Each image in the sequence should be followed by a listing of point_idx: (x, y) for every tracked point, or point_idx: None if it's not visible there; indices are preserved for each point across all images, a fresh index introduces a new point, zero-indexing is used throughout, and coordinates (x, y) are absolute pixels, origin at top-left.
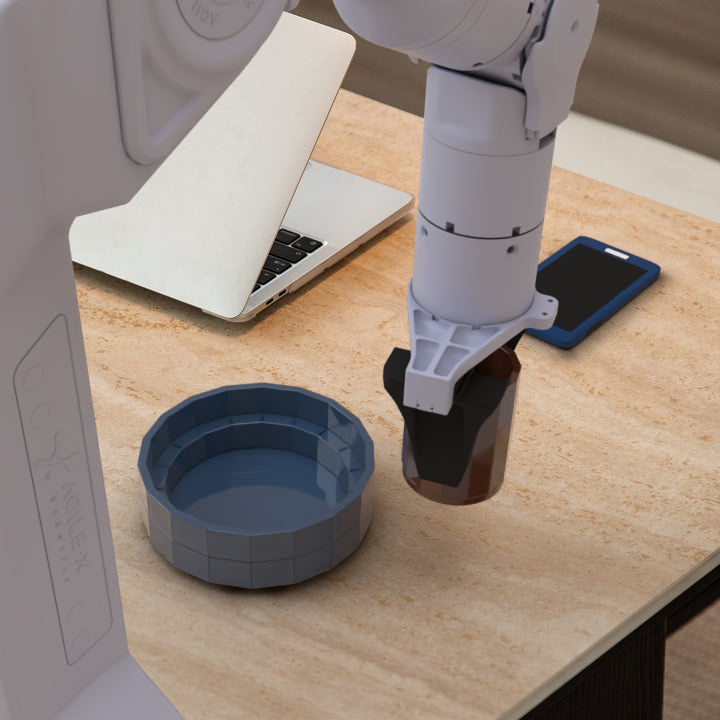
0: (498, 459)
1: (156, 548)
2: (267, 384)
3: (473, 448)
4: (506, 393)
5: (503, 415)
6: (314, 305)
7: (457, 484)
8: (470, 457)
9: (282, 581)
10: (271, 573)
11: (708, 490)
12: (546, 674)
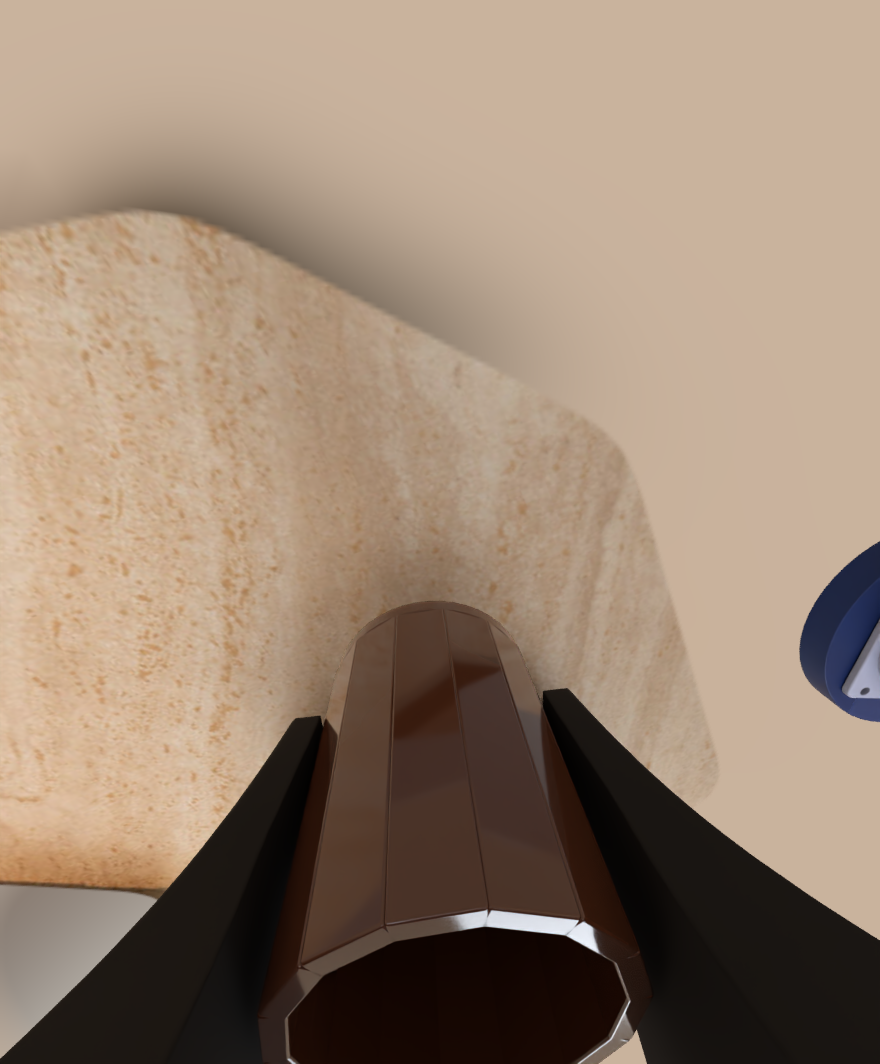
0: (481, 663)
1: None
2: None
3: (587, 754)
4: (544, 879)
5: (516, 782)
6: (61, 866)
7: (573, 694)
8: (583, 735)
9: (542, 706)
10: None
11: (13, 242)
12: (548, 400)
